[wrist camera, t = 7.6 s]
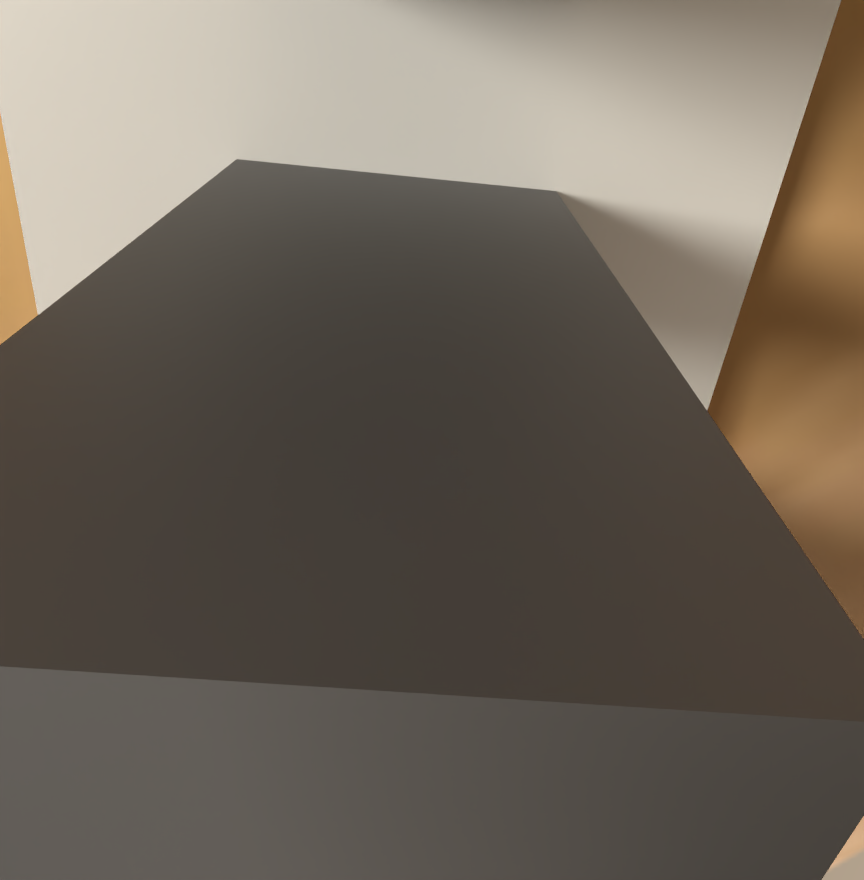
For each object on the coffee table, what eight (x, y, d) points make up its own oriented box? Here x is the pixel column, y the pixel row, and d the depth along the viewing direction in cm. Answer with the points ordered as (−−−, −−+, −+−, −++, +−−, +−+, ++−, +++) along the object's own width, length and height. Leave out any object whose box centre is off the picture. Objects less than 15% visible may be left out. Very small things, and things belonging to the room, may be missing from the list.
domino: (538, 288, 12) (786, 928, 4) (241, 260, 12) (-222, 881, 4) (556, 190, 12) (924, 724, 3) (237, 158, 11) (-377, 640, 3)
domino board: (616, 638, 18) (624, 663, 17) (109, 603, 17) (96, 628, 16) (1332, -1663, 6) (1461, -1901, 5) (-345, -2076, 5) (-473, -2418, 4)
